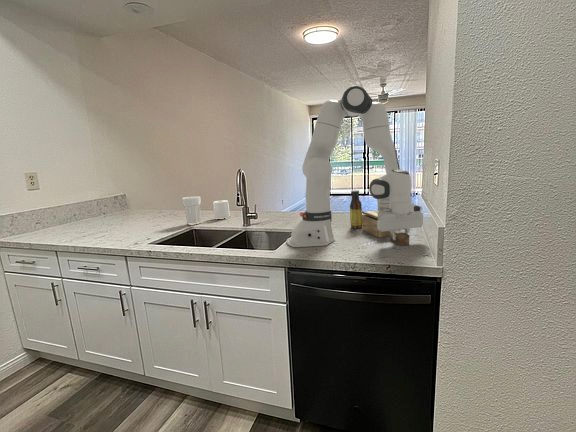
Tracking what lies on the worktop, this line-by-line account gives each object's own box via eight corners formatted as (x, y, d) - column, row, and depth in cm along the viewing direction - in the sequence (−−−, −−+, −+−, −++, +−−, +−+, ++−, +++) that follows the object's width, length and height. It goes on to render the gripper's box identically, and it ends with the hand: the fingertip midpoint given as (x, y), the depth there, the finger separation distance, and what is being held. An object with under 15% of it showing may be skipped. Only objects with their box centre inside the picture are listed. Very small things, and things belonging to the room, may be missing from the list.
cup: (181, 225, 209) (178, 198, 206) (194, 221, 219) (191, 196, 216) (193, 226, 203) (190, 198, 200) (207, 222, 213) (204, 196, 210)
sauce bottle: (355, 225, 180) (354, 189, 176) (364, 227, 175) (364, 190, 171) (347, 227, 175) (346, 191, 172) (357, 229, 171) (356, 191, 167)
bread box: (377, 237, 153) (377, 220, 151) (362, 229, 169) (362, 214, 167) (399, 234, 155) (399, 218, 153) (382, 227, 171) (382, 212, 169)
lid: (377, 219, 151) (377, 217, 151) (362, 213, 167) (362, 211, 167) (399, 217, 153) (399, 215, 153) (382, 212, 169) (382, 210, 169)
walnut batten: (402, 246, 138) (402, 235, 137) (390, 240, 147) (390, 230, 146) (409, 245, 138) (409, 234, 137) (396, 239, 148) (396, 229, 147)
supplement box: (396, 227, 170) (397, 195, 166) (378, 227, 172) (378, 195, 168) (394, 223, 179) (394, 192, 176) (377, 223, 181) (377, 193, 178)
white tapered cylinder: (214, 218, 228) (212, 200, 226) (229, 216, 230) (227, 199, 228) (214, 220, 218) (212, 202, 216) (230, 219, 221) (228, 201, 218)
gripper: (381, 211, 134) (381, 243, 137) (425, 206, 138) (425, 238, 141) (374, 209, 141) (374, 240, 143) (416, 204, 144) (416, 234, 147)
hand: (399, 239), depth 142 cm, fingers closed on walnut batten, 3 cm apart
